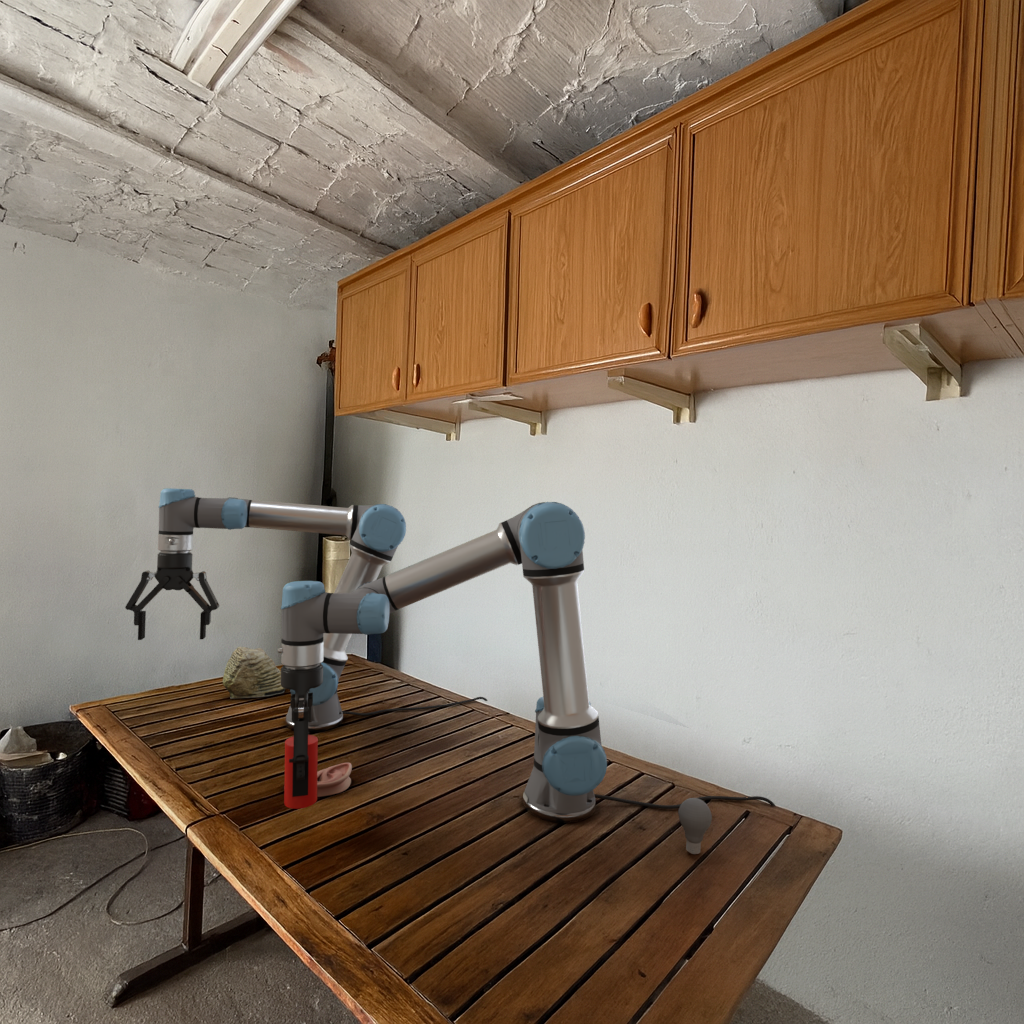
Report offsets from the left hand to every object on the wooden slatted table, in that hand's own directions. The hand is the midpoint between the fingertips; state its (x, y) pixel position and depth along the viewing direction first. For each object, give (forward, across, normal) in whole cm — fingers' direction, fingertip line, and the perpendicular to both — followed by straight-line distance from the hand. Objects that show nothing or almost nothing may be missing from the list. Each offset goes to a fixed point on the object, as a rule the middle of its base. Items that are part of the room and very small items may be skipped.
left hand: (172, 638), depth 155 cm
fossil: (+27, +14, +41) cm, 51 cm away
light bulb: (+27, +106, -65) cm, 127 cm away
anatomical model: (+27, +36, -27) cm, 53 cm away
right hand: (+18, +34, -46) cm, 60 cm away
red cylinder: (+21, +34, -46) cm, 61 cm away
